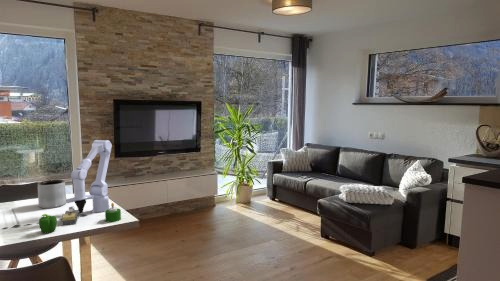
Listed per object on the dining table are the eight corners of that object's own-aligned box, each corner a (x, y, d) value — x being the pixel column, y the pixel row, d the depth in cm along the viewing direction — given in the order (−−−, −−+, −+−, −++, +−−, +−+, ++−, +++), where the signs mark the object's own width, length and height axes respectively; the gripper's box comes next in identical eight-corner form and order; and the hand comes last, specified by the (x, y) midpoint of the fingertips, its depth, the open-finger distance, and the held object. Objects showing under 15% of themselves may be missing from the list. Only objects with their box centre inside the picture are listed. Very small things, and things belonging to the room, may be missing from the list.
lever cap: (75, 215, 210) (75, 212, 209) (74, 219, 203) (74, 215, 203) (64, 216, 207) (64, 213, 207) (62, 220, 201) (62, 217, 201)
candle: (123, 218, 213) (123, 201, 212) (115, 222, 205) (114, 205, 204) (111, 217, 215) (110, 200, 214) (102, 221, 207) (101, 204, 206)
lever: (74, 210, 219) (74, 206, 219) (73, 214, 210) (72, 210, 210) (69, 210, 218) (69, 206, 218) (67, 215, 209) (67, 211, 209)
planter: (35, 209, 230) (33, 185, 228) (43, 202, 246) (41, 180, 244) (63, 207, 234) (61, 184, 232) (69, 201, 249) (67, 178, 248)
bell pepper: (54, 227, 197) (52, 209, 196) (59, 231, 191) (58, 213, 190) (36, 232, 191) (35, 213, 190) (42, 235, 185) (40, 216, 184)
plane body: (66, 214, 219) (65, 210, 219) (78, 213, 222) (78, 209, 221) (61, 225, 201) (61, 221, 200) (76, 223, 203) (75, 219, 203)
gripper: (90, 186, 219) (91, 208, 220) (64, 190, 209) (65, 213, 211) (94, 188, 214) (95, 211, 215) (67, 193, 204) (69, 216, 206)
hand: (80, 212), depth 213 cm, fingers closed
